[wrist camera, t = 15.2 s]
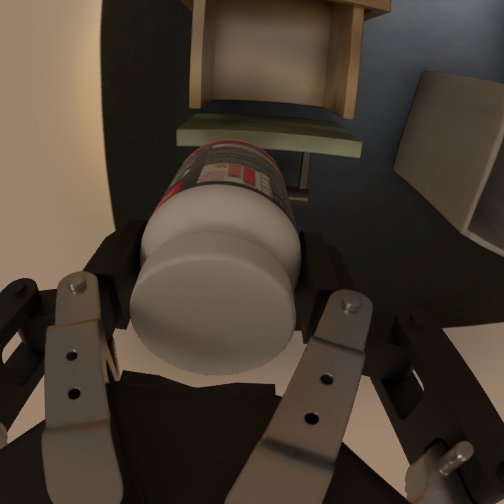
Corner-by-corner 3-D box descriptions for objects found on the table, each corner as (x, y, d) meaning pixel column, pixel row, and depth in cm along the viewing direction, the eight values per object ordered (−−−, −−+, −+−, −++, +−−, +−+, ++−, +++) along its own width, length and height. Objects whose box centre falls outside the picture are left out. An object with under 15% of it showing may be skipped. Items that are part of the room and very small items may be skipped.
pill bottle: (180, 131, 15) (99, 219, 7) (293, 145, 16) (344, 248, 7) (175, 230, 18) (125, 372, 10) (273, 242, 19) (290, 390, 10)
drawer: (326, 187, 31) (347, 225, 24) (195, 180, 30) (178, 216, 23) (347, -3, 21) (378, -24, 14) (201, -15, 20) (184, -42, 13)
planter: (362, 97, 27) (497, 153, 10) (426, 69, 24) (582, 106, 8) (413, 230, 34) (502, 356, 18) (466, 201, 32) (570, 306, 15)
